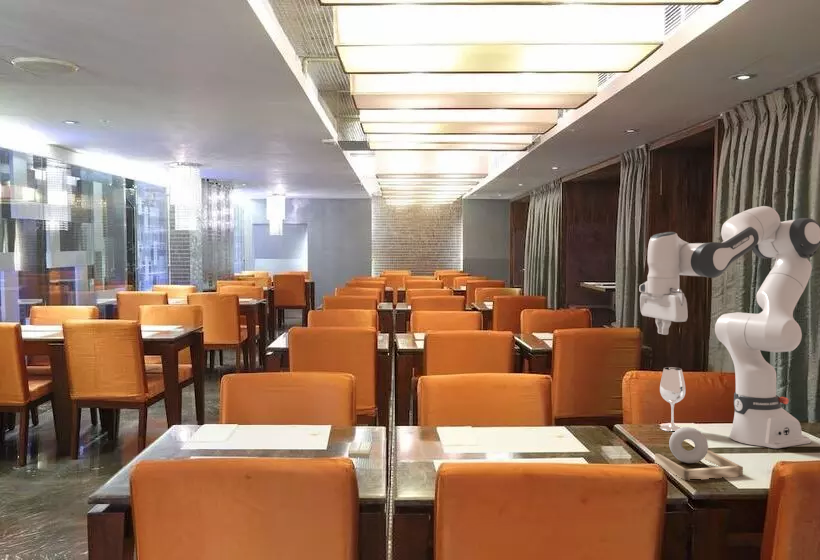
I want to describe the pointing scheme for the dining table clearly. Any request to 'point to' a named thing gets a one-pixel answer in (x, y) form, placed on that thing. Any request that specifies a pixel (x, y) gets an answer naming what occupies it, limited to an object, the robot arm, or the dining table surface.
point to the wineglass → (672, 391)
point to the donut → (683, 454)
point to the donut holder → (724, 470)
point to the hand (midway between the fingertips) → (663, 334)
